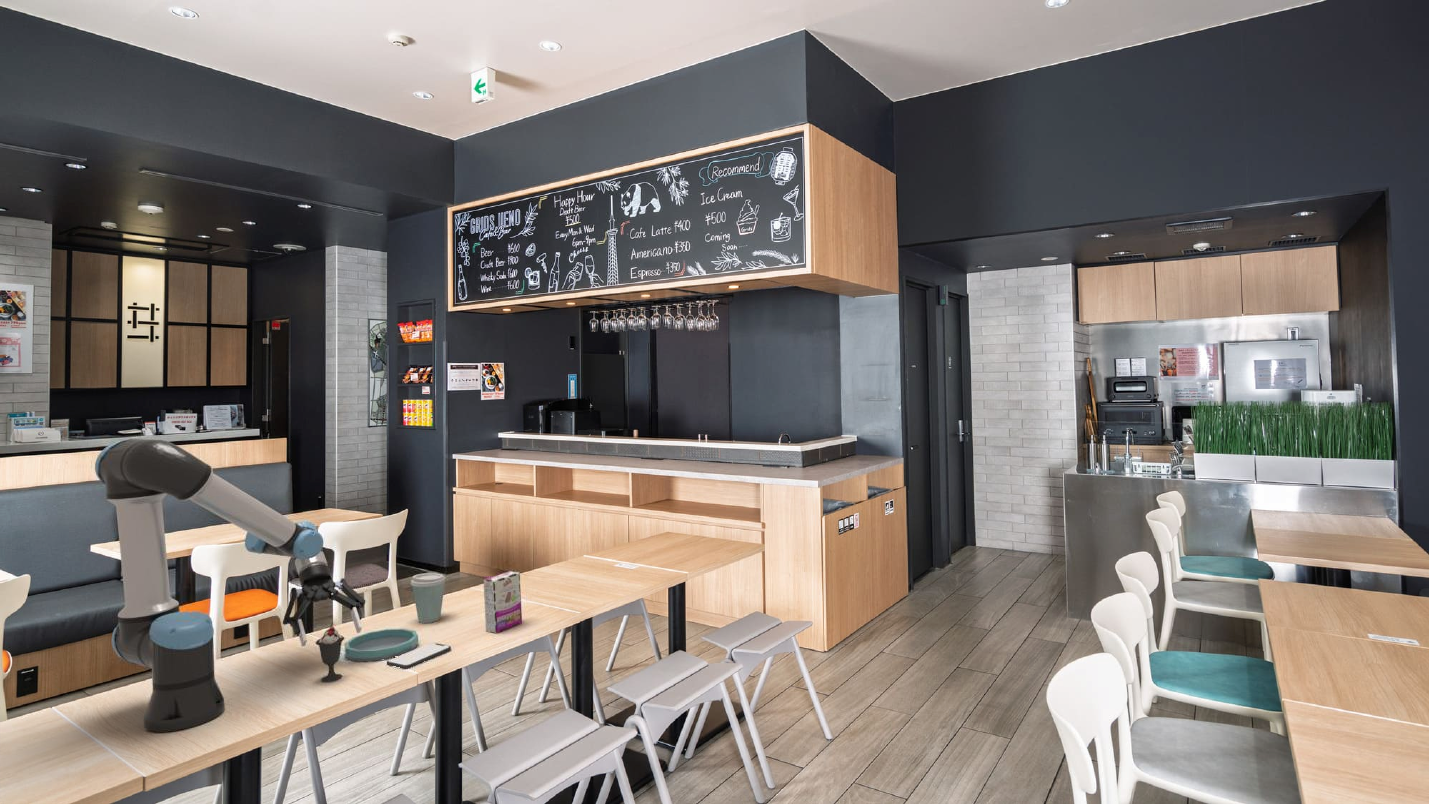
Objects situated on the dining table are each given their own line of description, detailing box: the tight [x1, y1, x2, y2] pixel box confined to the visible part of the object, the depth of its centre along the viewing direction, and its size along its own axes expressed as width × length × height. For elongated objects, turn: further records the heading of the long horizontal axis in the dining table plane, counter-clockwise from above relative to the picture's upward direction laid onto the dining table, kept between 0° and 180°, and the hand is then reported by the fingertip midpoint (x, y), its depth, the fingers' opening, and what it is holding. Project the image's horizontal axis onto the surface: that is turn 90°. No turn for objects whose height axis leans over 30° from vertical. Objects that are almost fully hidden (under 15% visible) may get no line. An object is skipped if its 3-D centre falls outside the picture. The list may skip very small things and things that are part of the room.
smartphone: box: [386, 642, 452, 670], centre depth 205 cm, size 9×2×16 cm
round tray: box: [344, 628, 419, 662], centre depth 212 cm, size 19×19×3 cm
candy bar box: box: [483, 570, 523, 634], centre depth 229 cm, size 11×5×16 cm, turn 150°
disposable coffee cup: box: [410, 572, 446, 624], centre depth 238 cm, size 11×11×15 cm
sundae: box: [315, 622, 346, 683], centre depth 191 cm, size 7×7×15 cm
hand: (332, 636), depth 194 cm, fingers open, 13 cm apart
